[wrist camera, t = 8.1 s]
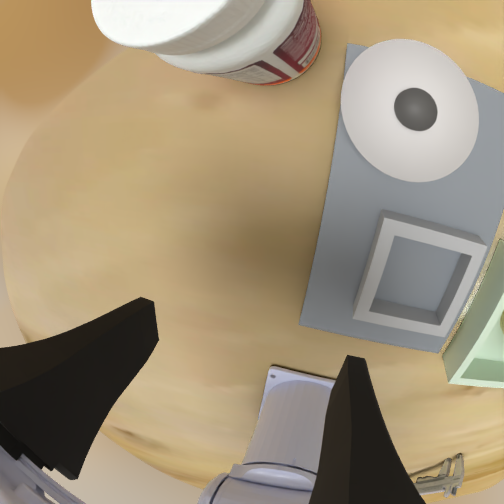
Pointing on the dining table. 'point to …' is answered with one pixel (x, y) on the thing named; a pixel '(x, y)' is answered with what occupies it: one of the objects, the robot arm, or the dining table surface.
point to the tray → (481, 334)
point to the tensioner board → (406, 197)
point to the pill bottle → (218, 35)
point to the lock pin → (502, 322)
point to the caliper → (443, 479)
